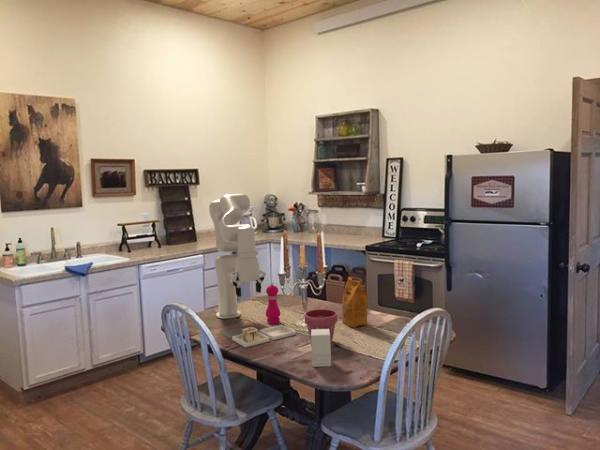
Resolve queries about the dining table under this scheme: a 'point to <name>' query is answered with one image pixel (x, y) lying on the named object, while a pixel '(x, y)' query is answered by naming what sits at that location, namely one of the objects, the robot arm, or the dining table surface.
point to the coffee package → (354, 304)
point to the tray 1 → (240, 340)
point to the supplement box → (321, 347)
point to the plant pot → (321, 320)
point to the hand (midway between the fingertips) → (248, 294)
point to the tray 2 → (277, 332)
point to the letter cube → (250, 334)
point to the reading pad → (233, 332)
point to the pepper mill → (272, 305)
